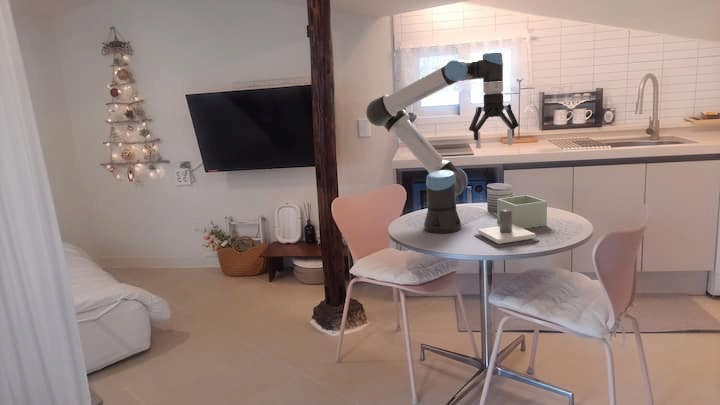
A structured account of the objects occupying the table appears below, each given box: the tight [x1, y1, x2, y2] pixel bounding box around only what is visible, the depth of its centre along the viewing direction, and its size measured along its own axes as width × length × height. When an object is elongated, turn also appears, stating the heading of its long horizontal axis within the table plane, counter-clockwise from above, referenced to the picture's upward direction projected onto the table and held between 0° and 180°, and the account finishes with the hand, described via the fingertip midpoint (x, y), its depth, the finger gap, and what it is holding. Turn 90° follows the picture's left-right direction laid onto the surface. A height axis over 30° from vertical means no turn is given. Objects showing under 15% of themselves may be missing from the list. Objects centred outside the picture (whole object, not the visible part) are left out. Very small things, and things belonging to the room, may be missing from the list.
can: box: [486, 182, 514, 214], centre depth 223 cm, size 11×11×12 cm
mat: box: [474, 233, 540, 249], centre depth 182 cm, size 17×17×1 cm
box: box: [496, 194, 548, 230], centre depth 199 cm, size 14×14×10 cm
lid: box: [477, 209, 536, 244], centre depth 181 cm, size 15×15×10 cm
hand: (494, 146), depth 197 cm, fingers open, 13 cm apart
